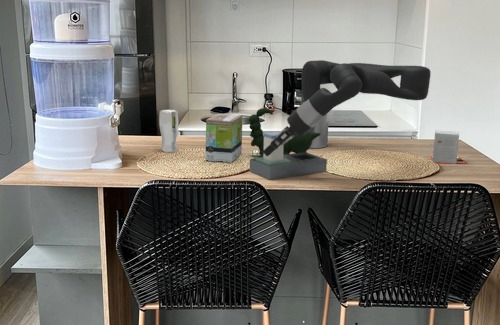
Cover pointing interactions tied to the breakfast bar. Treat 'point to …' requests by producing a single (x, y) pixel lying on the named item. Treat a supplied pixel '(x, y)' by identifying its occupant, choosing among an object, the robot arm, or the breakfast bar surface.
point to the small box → (445, 146)
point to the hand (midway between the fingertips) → (268, 151)
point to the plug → (277, 153)
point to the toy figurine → (293, 145)
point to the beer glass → (169, 130)
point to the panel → (288, 166)
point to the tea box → (223, 137)
